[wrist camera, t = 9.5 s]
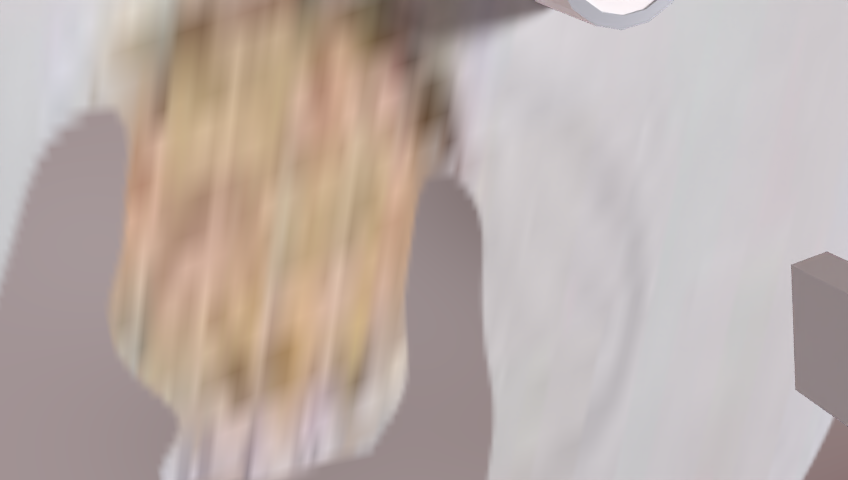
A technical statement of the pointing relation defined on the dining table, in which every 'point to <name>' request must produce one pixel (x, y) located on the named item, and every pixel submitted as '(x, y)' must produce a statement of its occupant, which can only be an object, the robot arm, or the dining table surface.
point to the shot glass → (610, 11)
